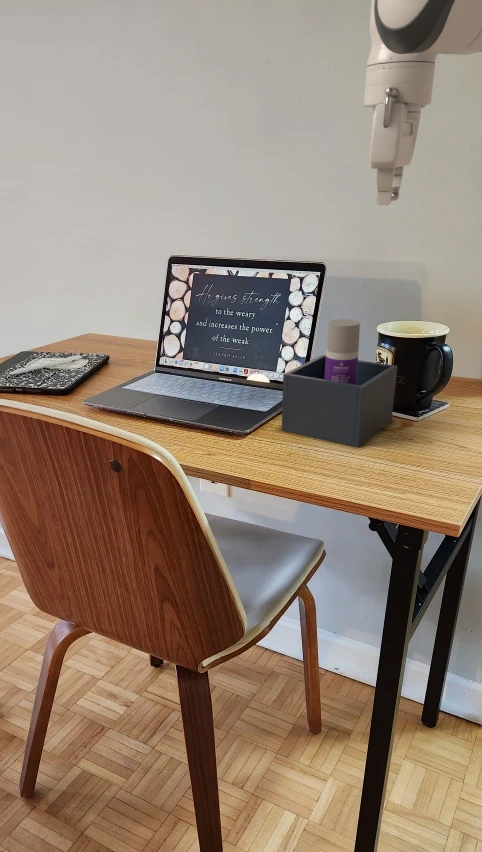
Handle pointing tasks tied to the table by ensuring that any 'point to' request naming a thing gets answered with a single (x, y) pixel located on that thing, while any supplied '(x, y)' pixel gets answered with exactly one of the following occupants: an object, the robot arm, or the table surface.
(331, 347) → the container
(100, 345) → the table surface
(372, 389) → the bin
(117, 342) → the table surface
